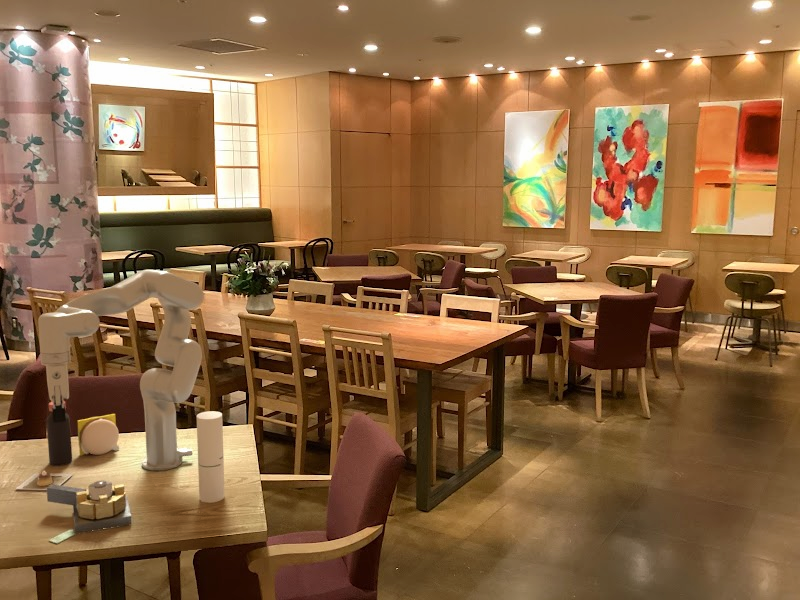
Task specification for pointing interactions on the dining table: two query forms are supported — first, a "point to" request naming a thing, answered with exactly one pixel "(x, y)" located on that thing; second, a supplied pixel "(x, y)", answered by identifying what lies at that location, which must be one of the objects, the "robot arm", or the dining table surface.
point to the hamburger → (98, 435)
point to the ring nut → (89, 501)
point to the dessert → (42, 479)
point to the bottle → (59, 439)
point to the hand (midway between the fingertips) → (59, 421)
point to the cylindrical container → (210, 456)
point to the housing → (95, 524)
